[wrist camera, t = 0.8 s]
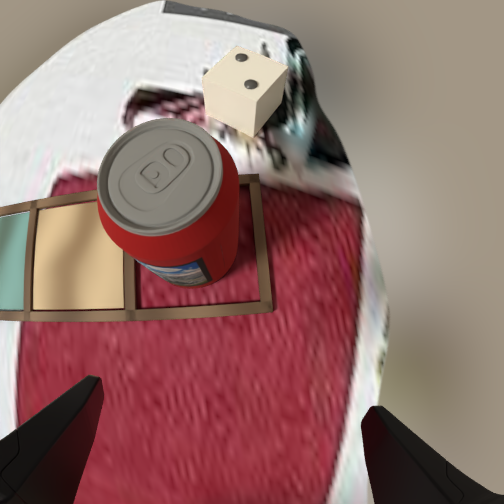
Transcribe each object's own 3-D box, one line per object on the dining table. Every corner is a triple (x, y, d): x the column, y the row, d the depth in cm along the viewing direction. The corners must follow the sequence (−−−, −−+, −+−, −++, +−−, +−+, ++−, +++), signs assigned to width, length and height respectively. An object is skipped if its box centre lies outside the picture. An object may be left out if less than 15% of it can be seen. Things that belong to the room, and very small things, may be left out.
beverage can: (133, 249, 23) (56, 182, 12) (193, 187, 25) (165, 85, 13) (195, 309, 23) (153, 289, 11) (257, 242, 24) (275, 163, 12)
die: (253, 138, 26) (256, 100, 21) (206, 114, 27) (201, 76, 22) (281, 103, 27) (288, 65, 22) (236, 82, 28) (236, 44, 23)
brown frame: (258, 176, 25) (258, 173, 25) (272, 312, 23) (272, 311, 22) (-30, 216, 23) (-33, 215, 23) (-39, 318, 21) (-41, 317, 20)
